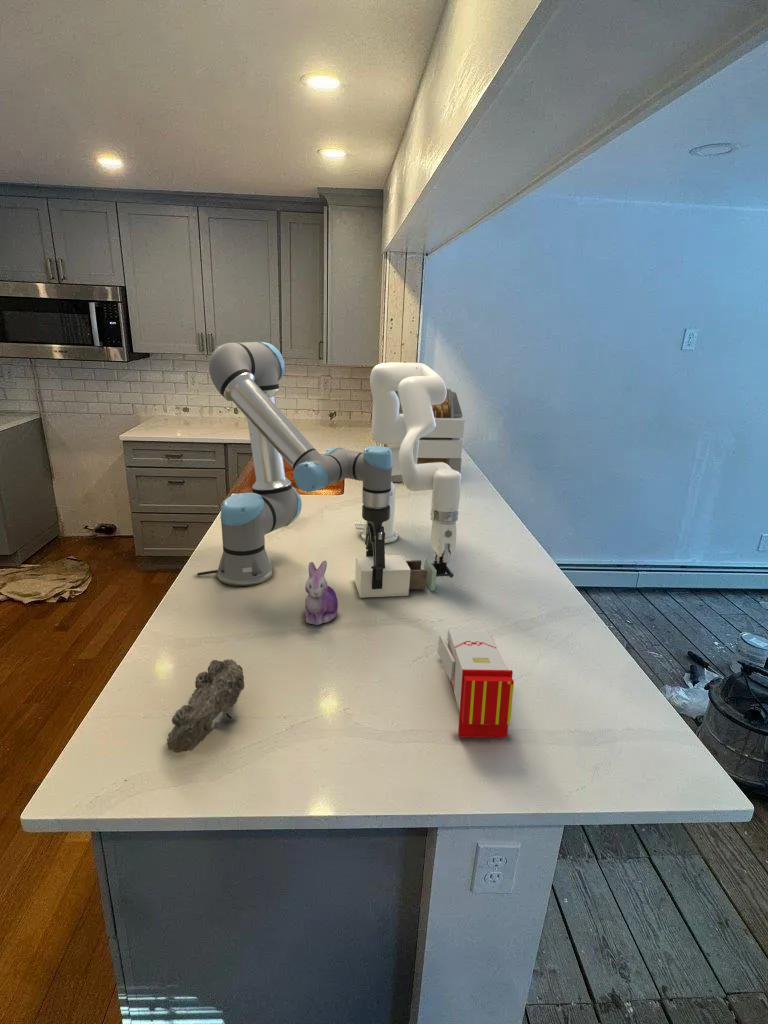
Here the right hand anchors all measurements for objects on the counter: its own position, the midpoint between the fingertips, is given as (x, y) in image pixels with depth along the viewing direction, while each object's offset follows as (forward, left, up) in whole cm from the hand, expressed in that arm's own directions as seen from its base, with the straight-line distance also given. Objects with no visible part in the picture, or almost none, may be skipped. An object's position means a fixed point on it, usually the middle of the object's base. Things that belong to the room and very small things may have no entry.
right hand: (439, 574), depth 162 cm
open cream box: (-15, -8, -4) cm, 17 cm away
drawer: (-5, -3, -3) cm, 7 cm away
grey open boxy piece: (-33, +114, -4) cm, 118 cm away
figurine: (-25, -28, -4) cm, 38 cm away
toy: (+16, -45, -4) cm, 48 cm away
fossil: (-30, -70, -4) cm, 76 cm away
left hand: (-17, -9, -1) cm, 19 cm away
